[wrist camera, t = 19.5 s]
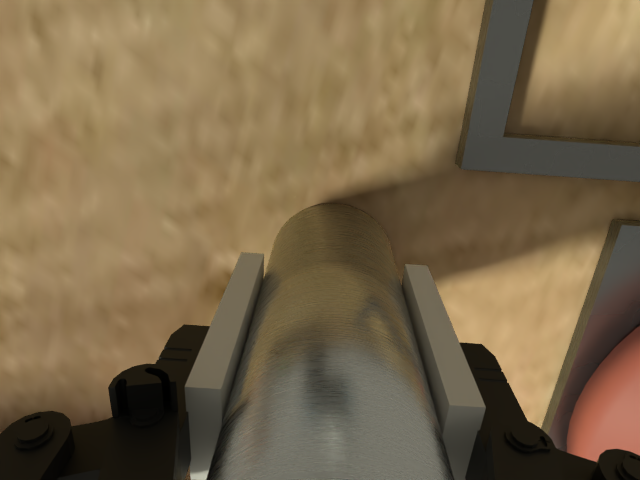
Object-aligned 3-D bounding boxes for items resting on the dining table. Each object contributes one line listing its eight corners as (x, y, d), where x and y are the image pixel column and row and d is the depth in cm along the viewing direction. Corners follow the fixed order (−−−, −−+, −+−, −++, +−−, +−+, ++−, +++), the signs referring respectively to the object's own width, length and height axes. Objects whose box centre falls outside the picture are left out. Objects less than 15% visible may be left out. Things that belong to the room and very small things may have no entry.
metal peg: (265, 191, 18) (81, 610, 5) (408, 201, 18) (611, 646, 5) (263, 312, 20) (133, 827, 7) (390, 321, 20) (496, 850, 7)
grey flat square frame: (517, -172, 13) (528, -184, 12) (857, -147, 13) (888, -157, 12) (455, 163, 17) (460, 169, 16) (717, 182, 17) (735, 188, 16)
